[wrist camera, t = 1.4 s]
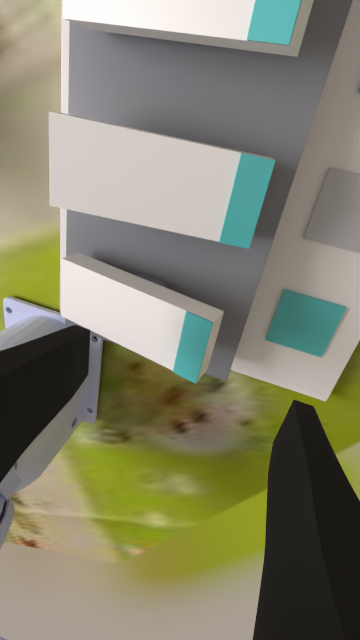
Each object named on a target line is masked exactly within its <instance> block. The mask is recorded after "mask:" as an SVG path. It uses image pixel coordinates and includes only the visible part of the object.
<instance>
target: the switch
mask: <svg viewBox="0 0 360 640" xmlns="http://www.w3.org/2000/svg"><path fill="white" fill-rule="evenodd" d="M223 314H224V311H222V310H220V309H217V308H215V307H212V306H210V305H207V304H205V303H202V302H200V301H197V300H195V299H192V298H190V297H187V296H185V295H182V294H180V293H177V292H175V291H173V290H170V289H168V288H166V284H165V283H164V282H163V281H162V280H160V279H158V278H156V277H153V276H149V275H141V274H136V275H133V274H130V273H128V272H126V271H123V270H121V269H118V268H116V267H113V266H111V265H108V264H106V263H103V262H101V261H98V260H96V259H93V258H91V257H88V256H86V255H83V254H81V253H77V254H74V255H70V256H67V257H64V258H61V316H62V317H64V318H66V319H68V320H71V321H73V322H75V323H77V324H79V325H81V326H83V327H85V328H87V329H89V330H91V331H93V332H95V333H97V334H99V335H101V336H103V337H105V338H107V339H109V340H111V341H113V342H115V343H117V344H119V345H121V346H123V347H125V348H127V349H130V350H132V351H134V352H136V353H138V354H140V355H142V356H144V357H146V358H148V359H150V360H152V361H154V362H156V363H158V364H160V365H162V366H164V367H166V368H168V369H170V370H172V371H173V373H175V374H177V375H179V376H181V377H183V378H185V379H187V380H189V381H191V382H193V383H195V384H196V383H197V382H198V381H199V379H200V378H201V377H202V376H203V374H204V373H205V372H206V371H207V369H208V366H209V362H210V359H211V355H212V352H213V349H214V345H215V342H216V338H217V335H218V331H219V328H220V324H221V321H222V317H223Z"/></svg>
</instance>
